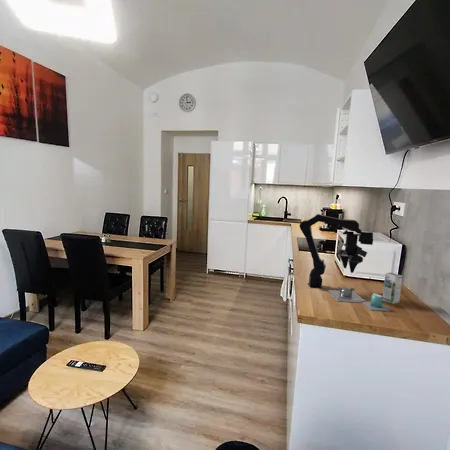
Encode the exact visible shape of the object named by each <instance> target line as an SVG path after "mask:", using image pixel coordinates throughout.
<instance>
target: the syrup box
mask: <svg viewBox="0 0 450 450" xmlns="http://www.w3.org/2000/svg"><path fill="white" fill-rule="evenodd" d="M402 283H403V275H401V274H398V273H394V272H387V273H385V275H384V282H383V290H382V291H383V292H382V296H383V301H384V302H386V303H388V304H391V305H392V304H393V305H394V304H399V303H400V300H401V298H400V297H401V291H402Z"/></svg>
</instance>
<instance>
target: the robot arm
mask: <svg viewBox="0 0 450 450" xmlns="http://www.w3.org/2000/svg"><path fill="white" fill-rule="evenodd" d="M319 222H321V223H325V224H329V225H332V226H333V225H334V226H338V227H341V228H344V229H345V231H343V232H342V234H343V235H345V236H346V237H345V243H344V244H343V246H344V249H339V250H338V255H339V258H340V261H341V262H342V263H341V264H342V267H343V268H344V269H347V267H348V266H349V271H350V273H351V274H353V273H354V272H355V270H356V267H357V265H358V264H361V263H363V261H364V258H366V257H367V254H368V251H367V250H366V251H365V250H363V248H362V247H361V246H359V245H358V242H359V243H360V245H368V246H369V245H370V246H372V245H373V244H374V243H373V242H374V232H372V231H368V232H367V231H362V229H360V224H359V222H358V221H357V220H355V219H341V218H337V217H332V216H327V215H323V214H319V213H316V215H314V216H313V217H311V218H309V219H307V220H306V219H305V220H302V221H301V222H300V224H299V228H300V231H301V233H302V234H303V236H304V238H305V240H306V243H307V246H308V249H309V252H310V255H311V258H312V266H313V268H312V269H311V270H310V272H309V276H308V283H307V285H308V287H309V288H313V289H322V286H323V279H322V275H324V274H325V271H326V269H327V268H326V267H327V265H326V263H325V260H324V259H321V257H320V255H319V252H318V248H317V246H316V242H315V239H314V237H313V232H312V230H313V229H312V226H313V225H315V224H317V223H319Z"/></svg>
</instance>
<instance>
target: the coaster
mask: <svg viewBox="0 0 450 450" xmlns="http://www.w3.org/2000/svg"><path fill="white" fill-rule="evenodd" d="M362 304H363V305H364V306H365V307H367V308H368V309H369V310H370V311H377V312H378V311H379V312H391V310H392V309H390V308H389V307H387V306H385V305H384V304H383V303H382V307H381V308H376V307H373V306H371V301H365V302H363V303H362Z"/></svg>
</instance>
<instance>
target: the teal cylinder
mask: <svg viewBox="0 0 450 450" xmlns="http://www.w3.org/2000/svg"><path fill="white" fill-rule="evenodd" d="M383 301H384V300H383V295H382V294H381V295H380V294H378V293H372V294H371V299H370V302H371V306H373V307H376V308H381V307H382V304H383Z"/></svg>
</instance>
